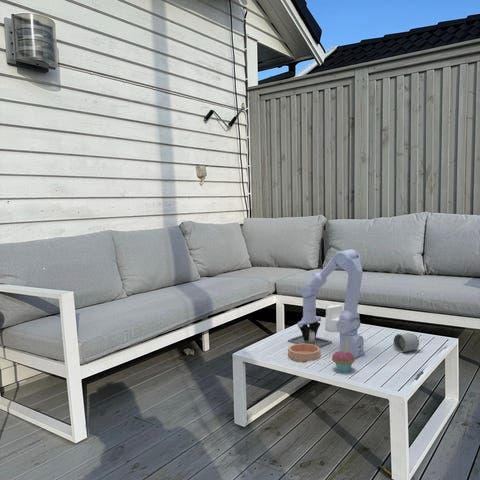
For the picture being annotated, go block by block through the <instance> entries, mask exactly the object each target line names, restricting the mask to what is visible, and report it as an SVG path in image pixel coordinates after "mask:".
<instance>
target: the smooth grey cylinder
mask: <svg viewBox="0 0 480 480" xmlns="http://www.w3.org/2000/svg"><path fill="white" fill-rule="evenodd" d="M305 343H306V344H314V343H315V331H312V330H310V332H309V340H308V341H305Z"/></svg>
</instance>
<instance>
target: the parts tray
mask: <svg viewBox="0 0 480 480" xmlns="http://www.w3.org/2000/svg"><path fill="white" fill-rule="evenodd" d="M287 342H288V343H291V344H293V345H294V344H301V343H304V344H306V343H305V341H304V338H303V335H302V334H301V335H299V336H296V337H292V338H290V339H287ZM331 344H333V340H328V339H325V338H321V337H317V336H316V338H315V343H314V344H313V345H316V346H318V347H319V348H320V349H321V348H324V347H327V346H329V345H331Z"/></svg>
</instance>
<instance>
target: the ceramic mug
mask: <svg viewBox="0 0 480 480" xmlns="http://www.w3.org/2000/svg"><path fill="white" fill-rule="evenodd" d="M393 347H394V349H395V350H396V351H397V352H398V353H406V352H412V351H416V350H417V349H418V348H419V347H420V339H419V337H418V336H417V334H415V333H409V332H408V333H397V334H396V335H394V338H393Z"/></svg>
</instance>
